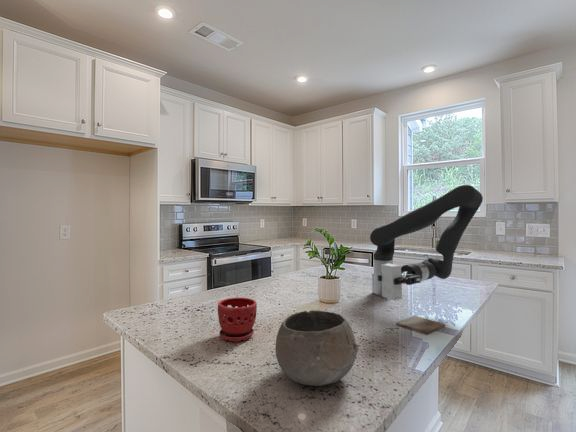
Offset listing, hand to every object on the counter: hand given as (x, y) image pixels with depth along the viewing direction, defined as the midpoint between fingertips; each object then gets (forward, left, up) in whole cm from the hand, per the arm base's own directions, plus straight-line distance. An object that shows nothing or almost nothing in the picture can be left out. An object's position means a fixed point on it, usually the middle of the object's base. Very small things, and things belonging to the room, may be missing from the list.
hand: (386, 279), depth 113 cm
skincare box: (0, +3, -7) cm, 8 cm away
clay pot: (+9, -41, -18) cm, 46 cm away
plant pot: (-27, -45, -18) cm, 56 cm away
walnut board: (+6, +12, -17) cm, 22 cm away
